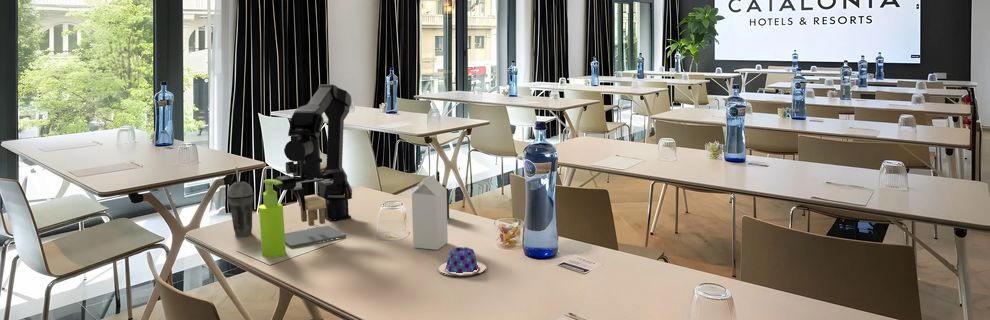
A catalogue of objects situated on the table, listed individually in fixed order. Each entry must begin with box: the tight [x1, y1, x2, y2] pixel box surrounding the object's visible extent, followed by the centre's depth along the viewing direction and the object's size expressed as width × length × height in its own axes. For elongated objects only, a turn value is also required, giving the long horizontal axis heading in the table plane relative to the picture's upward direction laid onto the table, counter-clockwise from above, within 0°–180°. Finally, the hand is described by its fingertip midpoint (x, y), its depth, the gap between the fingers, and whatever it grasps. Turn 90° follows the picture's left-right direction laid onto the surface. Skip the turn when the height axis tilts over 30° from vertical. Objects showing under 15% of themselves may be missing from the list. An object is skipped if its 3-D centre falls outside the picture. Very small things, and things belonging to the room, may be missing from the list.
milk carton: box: [411, 174, 449, 251], centre depth 187 cm, size 7×7×19 cm
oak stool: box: [298, 194, 326, 227], centre depth 196 cm, size 7×5×7 cm
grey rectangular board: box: [284, 225, 347, 249], centre depth 197 cm, size 16×12×1 cm
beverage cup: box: [226, 166, 255, 238], centre depth 198 cm, size 7×7×20 cm
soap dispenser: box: [258, 178, 287, 259], centre depth 181 cm, size 6×7×20 cm
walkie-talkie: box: [436, 171, 450, 219], centre depth 214 cm, size 5×3×15 cm
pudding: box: [437, 246, 488, 276], centre depth 170 cm, size 12×12×5 cm
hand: (312, 209), depth 196 cm, fingers closed on oak stool, 5 cm apart
